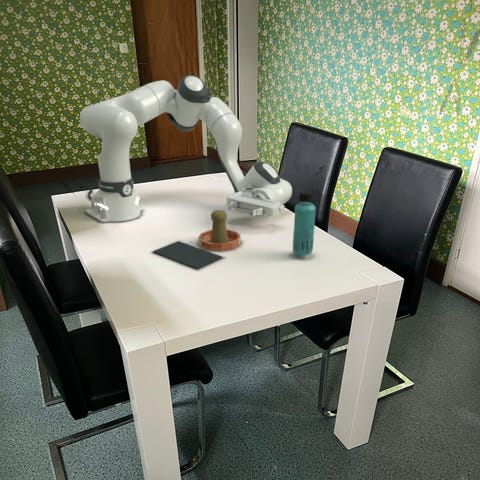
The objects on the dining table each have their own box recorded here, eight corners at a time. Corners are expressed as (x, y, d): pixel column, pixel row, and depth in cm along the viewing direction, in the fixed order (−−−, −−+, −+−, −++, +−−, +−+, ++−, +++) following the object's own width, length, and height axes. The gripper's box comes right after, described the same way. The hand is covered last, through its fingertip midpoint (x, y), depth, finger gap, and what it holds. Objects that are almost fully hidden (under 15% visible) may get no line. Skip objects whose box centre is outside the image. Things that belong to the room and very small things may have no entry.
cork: (231, 240, 157) (230, 209, 151) (224, 247, 152) (224, 214, 146) (214, 238, 158) (213, 207, 153) (207, 245, 154) (206, 213, 148)
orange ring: (190, 244, 155) (190, 237, 153) (218, 232, 163) (218, 226, 162) (220, 254, 147) (220, 247, 146) (248, 242, 156) (248, 235, 154)
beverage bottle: (299, 261, 142) (303, 196, 132) (287, 253, 147) (290, 191, 137) (316, 257, 145) (322, 193, 134) (304, 250, 150) (309, 188, 139)
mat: (153, 252, 149) (153, 251, 148) (178, 242, 156) (178, 241, 155) (197, 269, 138) (197, 268, 137) (222, 258, 145) (222, 256, 144)
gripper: (286, 214, 165) (265, 225, 155) (240, 204, 175) (217, 214, 166) (287, 197, 162) (265, 207, 152) (240, 187, 172) (217, 196, 162)
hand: (240, 210), depth 159 cm, fingers open, 8 cm apart
